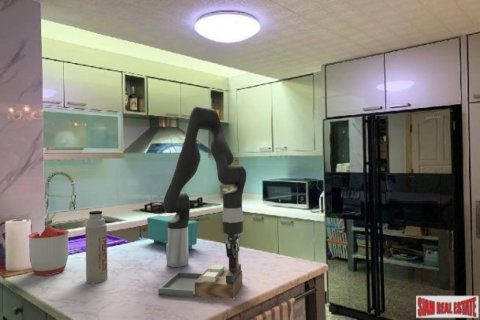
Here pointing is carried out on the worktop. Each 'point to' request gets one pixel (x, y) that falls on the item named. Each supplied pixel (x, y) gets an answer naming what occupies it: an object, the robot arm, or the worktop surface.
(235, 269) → the scraper
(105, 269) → the thermos bottle
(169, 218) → the radio
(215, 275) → the tile
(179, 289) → the bin
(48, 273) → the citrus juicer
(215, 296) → the board
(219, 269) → the tile
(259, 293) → the worktop surface
